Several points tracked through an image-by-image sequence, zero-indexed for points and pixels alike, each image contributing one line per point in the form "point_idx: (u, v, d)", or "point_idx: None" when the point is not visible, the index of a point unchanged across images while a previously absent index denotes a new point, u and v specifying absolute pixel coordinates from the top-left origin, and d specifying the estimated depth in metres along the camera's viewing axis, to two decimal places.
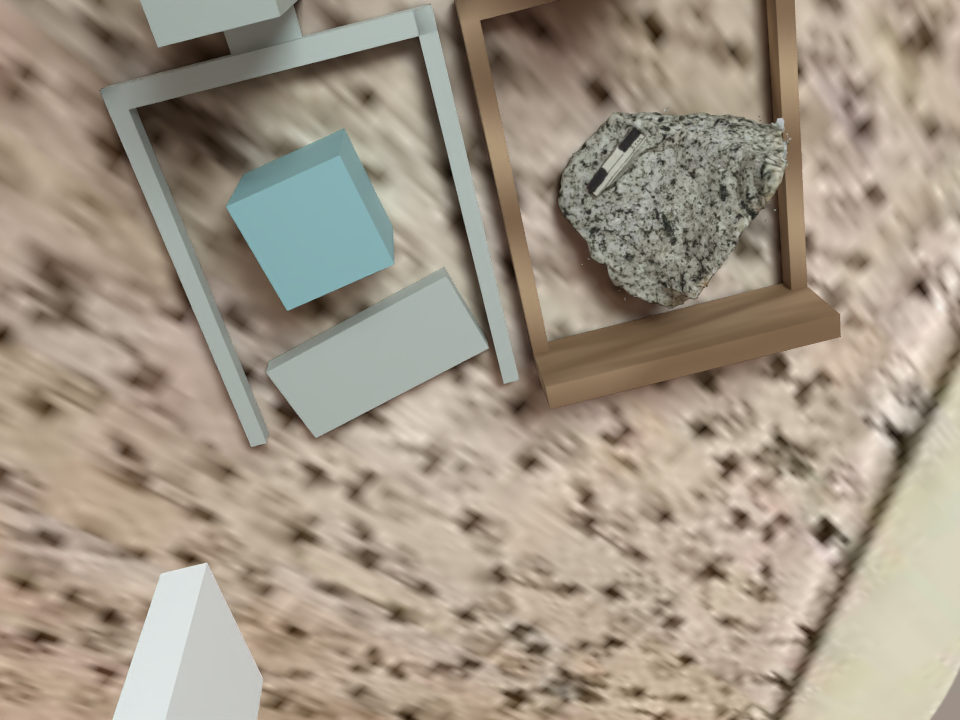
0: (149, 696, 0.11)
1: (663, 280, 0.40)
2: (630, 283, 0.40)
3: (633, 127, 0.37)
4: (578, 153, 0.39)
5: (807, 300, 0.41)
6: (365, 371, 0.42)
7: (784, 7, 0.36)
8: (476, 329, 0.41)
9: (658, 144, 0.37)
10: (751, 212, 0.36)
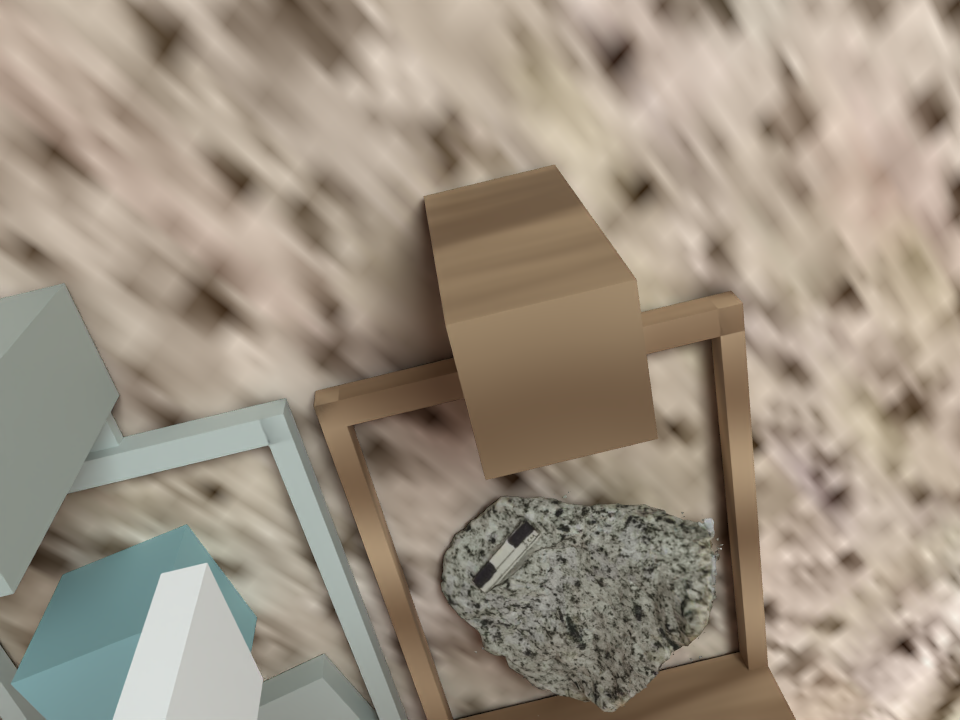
0: (149, 696, 0.11)
1: (574, 679, 0.32)
2: (534, 677, 0.32)
3: (524, 521, 0.29)
4: (461, 534, 0.31)
5: (767, 696, 0.34)
6: None
7: (736, 398, 0.29)
8: None
9: (556, 543, 0.29)
10: (672, 643, 0.28)
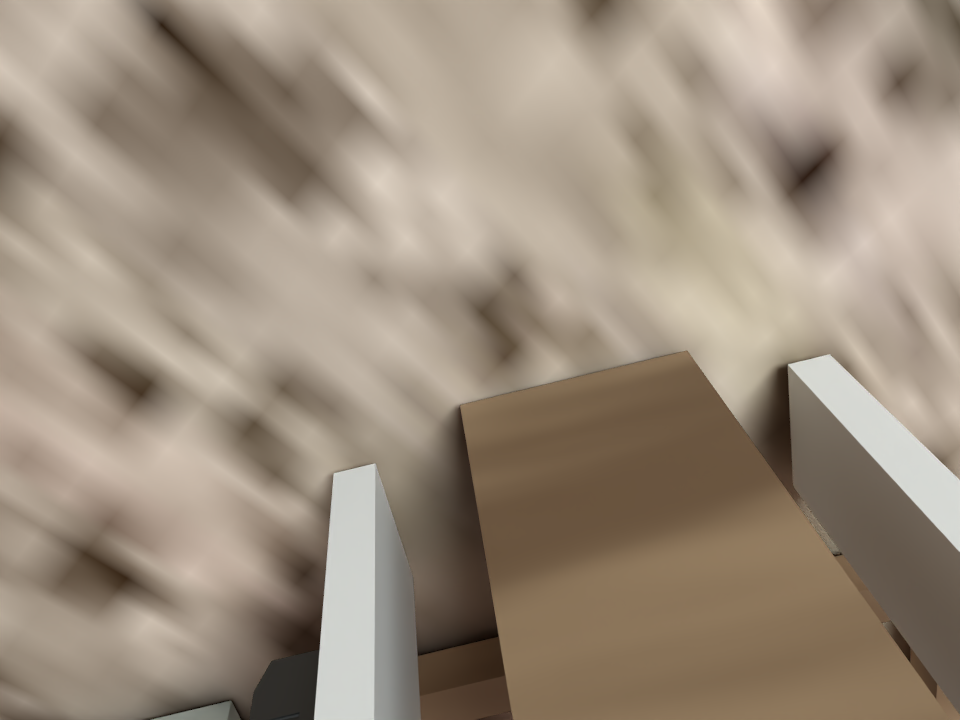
0: (354, 564, 0.13)
1: None
2: None
3: None
4: None
5: None
6: None
7: None
8: None
9: None
10: None
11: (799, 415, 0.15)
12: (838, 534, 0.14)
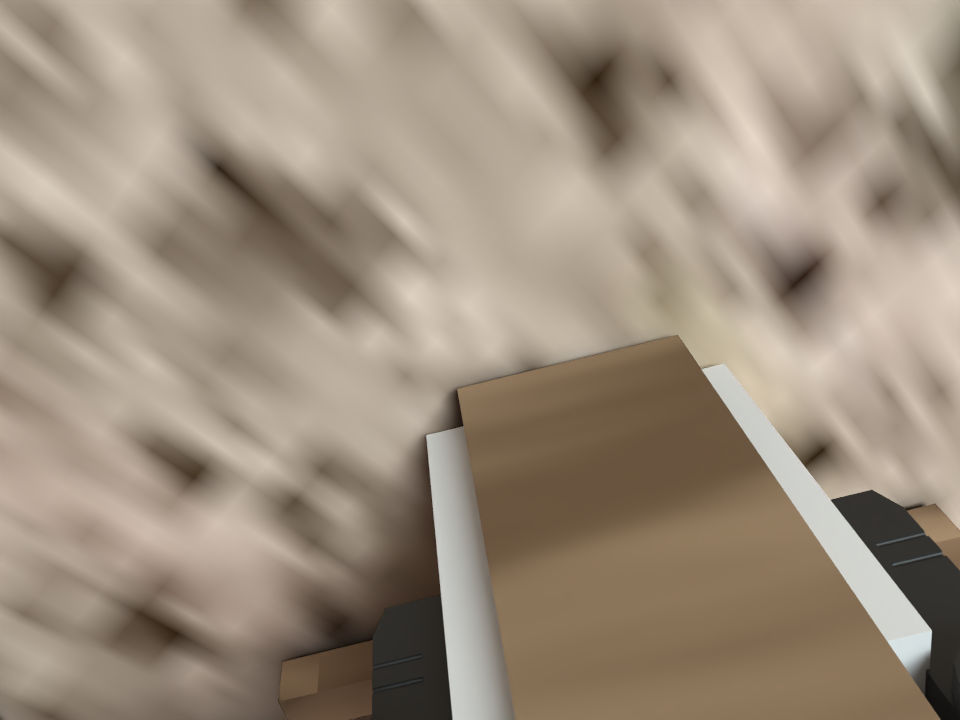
0: (461, 516, 0.13)
1: None
2: None
3: None
4: None
5: None
6: None
7: None
8: None
9: None
10: None
11: None
12: None
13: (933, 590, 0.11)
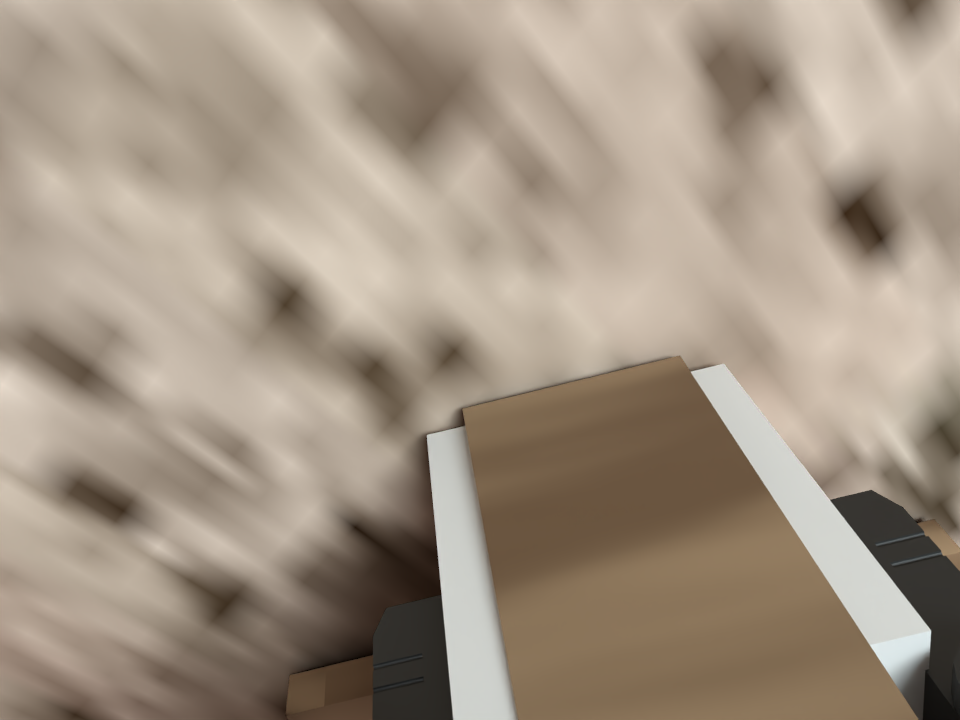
0: (462, 516, 0.13)
1: None
2: None
3: None
4: None
5: None
6: None
7: None
8: None
9: None
10: None
11: None
12: None
13: (932, 590, 0.11)
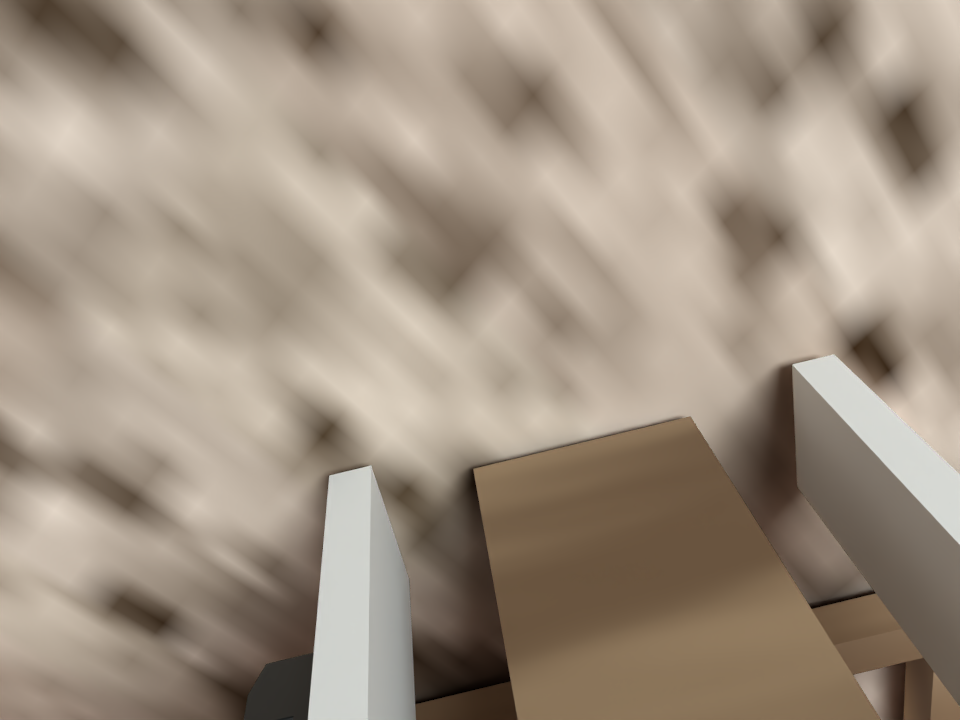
0: (348, 567, 0.13)
1: None
2: None
3: None
4: None
5: None
6: None
7: None
8: None
9: None
10: None
11: (803, 415, 0.15)
12: (843, 534, 0.14)
13: None
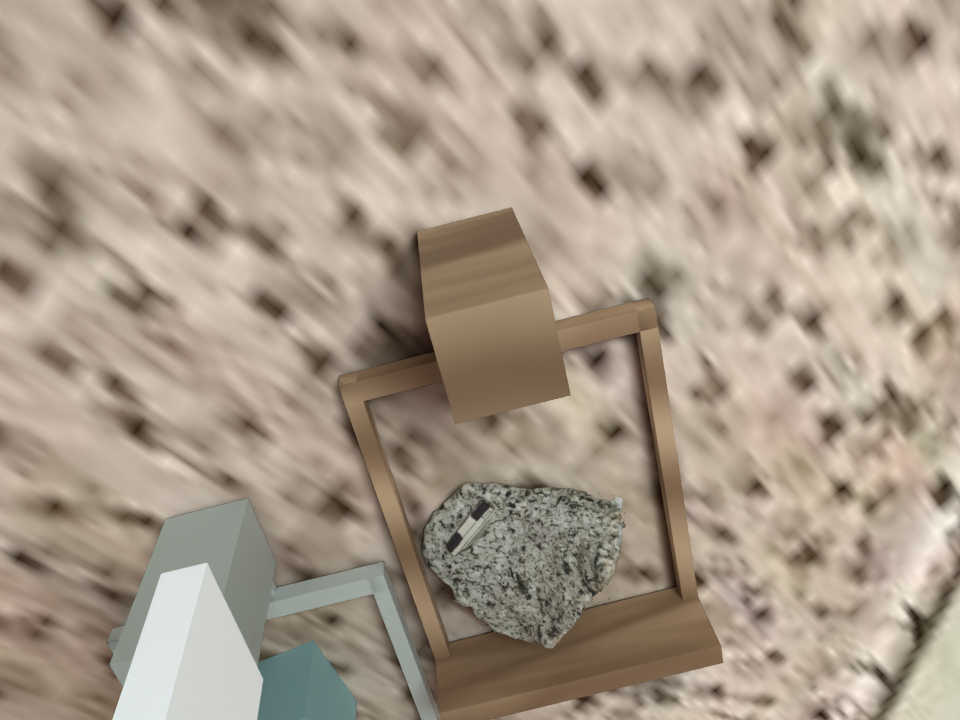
0: (149, 696, 0.11)
1: (524, 625, 0.42)
2: (494, 624, 0.42)
3: (483, 500, 0.39)
4: (437, 512, 0.41)
5: (695, 618, 0.43)
6: None
7: (655, 378, 0.38)
8: None
9: (506, 517, 0.39)
10: (591, 590, 0.38)
11: None
12: None
13: None
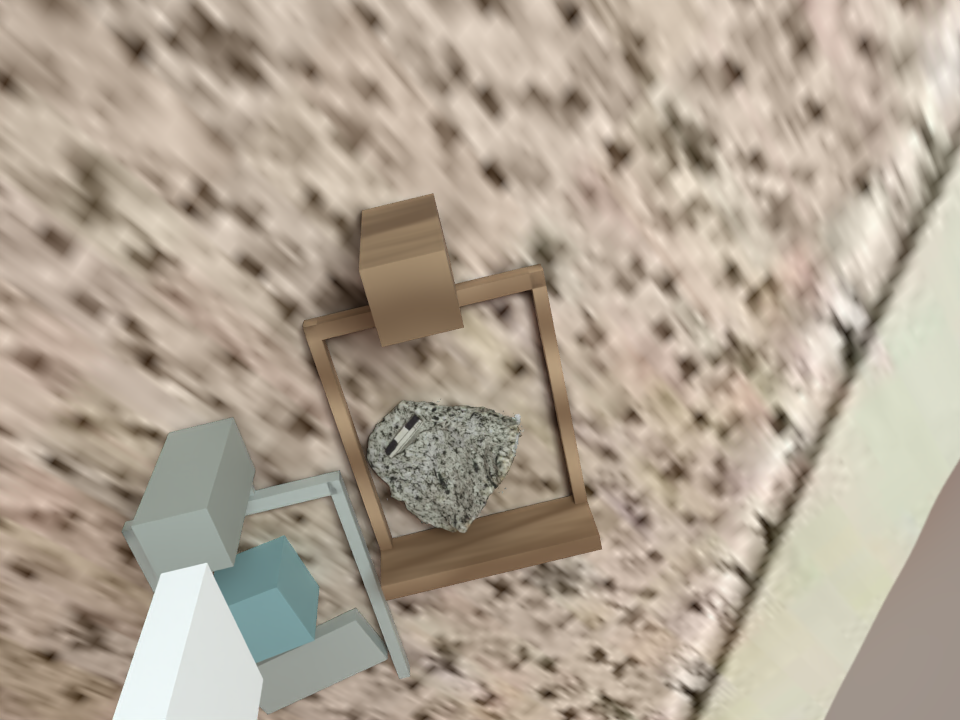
0: (149, 696, 0.11)
1: (444, 515, 0.53)
2: (421, 515, 0.54)
3: (414, 414, 0.51)
4: (379, 424, 0.52)
5: (583, 516, 0.55)
6: (301, 675, 0.60)
7: (546, 325, 0.50)
8: (378, 648, 0.60)
9: (431, 427, 0.51)
10: (493, 483, 0.50)
11: None
12: None
13: None
